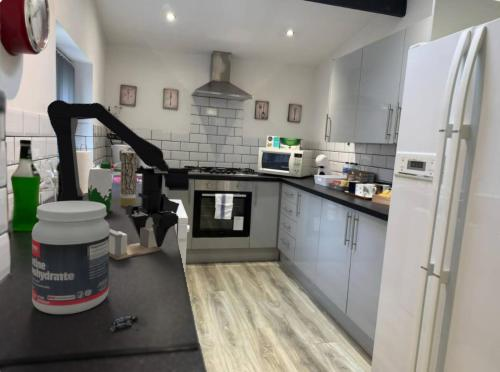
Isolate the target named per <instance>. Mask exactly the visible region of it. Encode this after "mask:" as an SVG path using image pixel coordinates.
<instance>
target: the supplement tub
mask: <svg viewBox="0 0 500 372" xmlns="http://www.w3.org/2000/svg"><path fill="white" fill-rule="evenodd" d="M59 201H60V200H59ZM59 201H54V202H53V201H52V202H47V203H42V204H40V205H38V206H37V207H36V215H35V216H36V218H37V219H38V222H36V223H35V224H34V226H33V227H32V230H31V231H32V232H31V253H32V254H31V278H32V279H31V283H32V284H31V290H32V293H31V294H32V297H31V301H32V304H33V306H34V307H35V308H36V309H37V310H38V311H40V312H43V313H46V314H52V315H71V314H72V315H73V314H76V313H82V312H84V311H88V310H89V309H92V308H94V307H96V306H98V305H100V304H101V303H103V302H104V300H106V298H107V297H108V296H107V295H108V294H109V268H110V263H109V261H110V256H109V235H110V229H111V228H110V224H109V223H108V221H107V220H105V217H107V215H108V212H106V206H105V205H104V204H102V203H98V202H92V201H60V202H59Z"/></svg>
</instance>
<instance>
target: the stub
mask: <svg viewBox="0 0 500 372" xmlns="http://www.w3.org/2000/svg"><path fill="white" fill-rule="evenodd" d="M139 243H140V245H141V246H144V247H146V248H151V247H157V244H156V240H155V236H154V232H153V227H152V225H151V226H145V227H144V228H140V239H139Z"/></svg>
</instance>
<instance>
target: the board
mask: <svg viewBox="0 0 500 372" xmlns="http://www.w3.org/2000/svg"><path fill="white" fill-rule="evenodd" d="M158 251H159V252H160V251H161V247H157V246H156V247H151V248H146V247H144V246H141V245H140V242H138V243H131V244H127V253H123V254H121V256H118V257H117V256H116V255H113V254H111V253H109V258H110V257H111V258H113V259H114V260H116V261H117V260H123V259H127V258H131V257H137V256H141V255H146V254H150V253H155V252H158Z"/></svg>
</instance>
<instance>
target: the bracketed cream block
mask: <svg viewBox="0 0 500 372" xmlns="http://www.w3.org/2000/svg"><path fill="white" fill-rule="evenodd" d="M127 245H128V234H127V233H125V232H123V231H117V230H114V229H112V228H110V235H109V253H111V254H113V255H116V256H117V257H118V256H121V254H123V253H127Z"/></svg>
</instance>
